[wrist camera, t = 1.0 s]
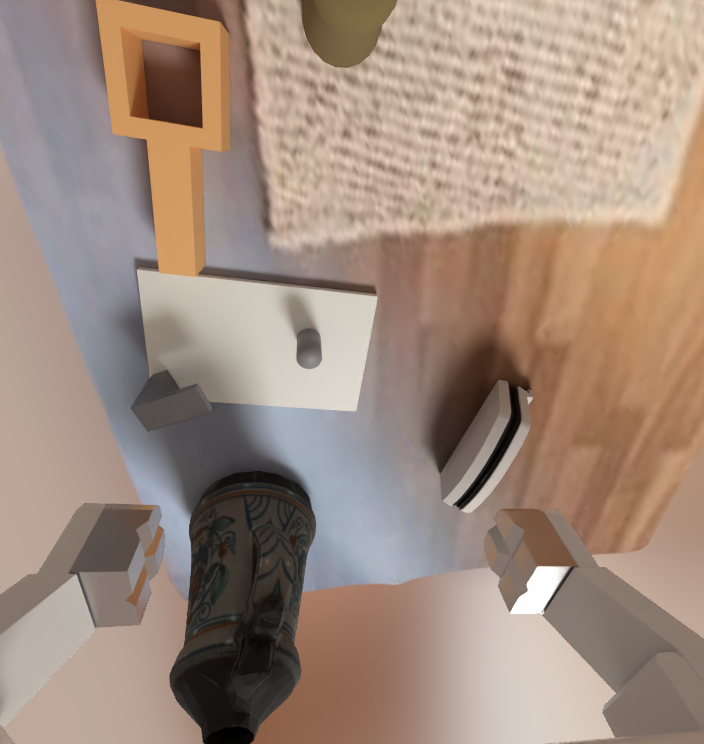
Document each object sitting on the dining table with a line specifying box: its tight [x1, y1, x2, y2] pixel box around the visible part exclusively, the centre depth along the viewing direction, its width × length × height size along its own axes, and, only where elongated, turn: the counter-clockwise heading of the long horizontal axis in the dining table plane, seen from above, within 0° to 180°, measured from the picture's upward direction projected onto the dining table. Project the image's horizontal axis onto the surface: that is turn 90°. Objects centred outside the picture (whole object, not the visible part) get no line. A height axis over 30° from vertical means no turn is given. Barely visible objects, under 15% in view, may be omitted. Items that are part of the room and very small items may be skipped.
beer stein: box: [170, 471, 316, 744], centre depth 44 cm, size 16×19×25 cm
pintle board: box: [137, 267, 378, 411], centre depth 41 cm, size 14×23×5 cm, turn 81°
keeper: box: [131, 370, 212, 431], centre depth 41 cm, size 7×3×7 cm, turn 106°
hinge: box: [440, 380, 534, 513], centre depth 49 cm, size 17×5×10 cm, turn 160°
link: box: [96, 0, 230, 277], centre depth 32 cm, size 18×8×4 cm, turn 171°
